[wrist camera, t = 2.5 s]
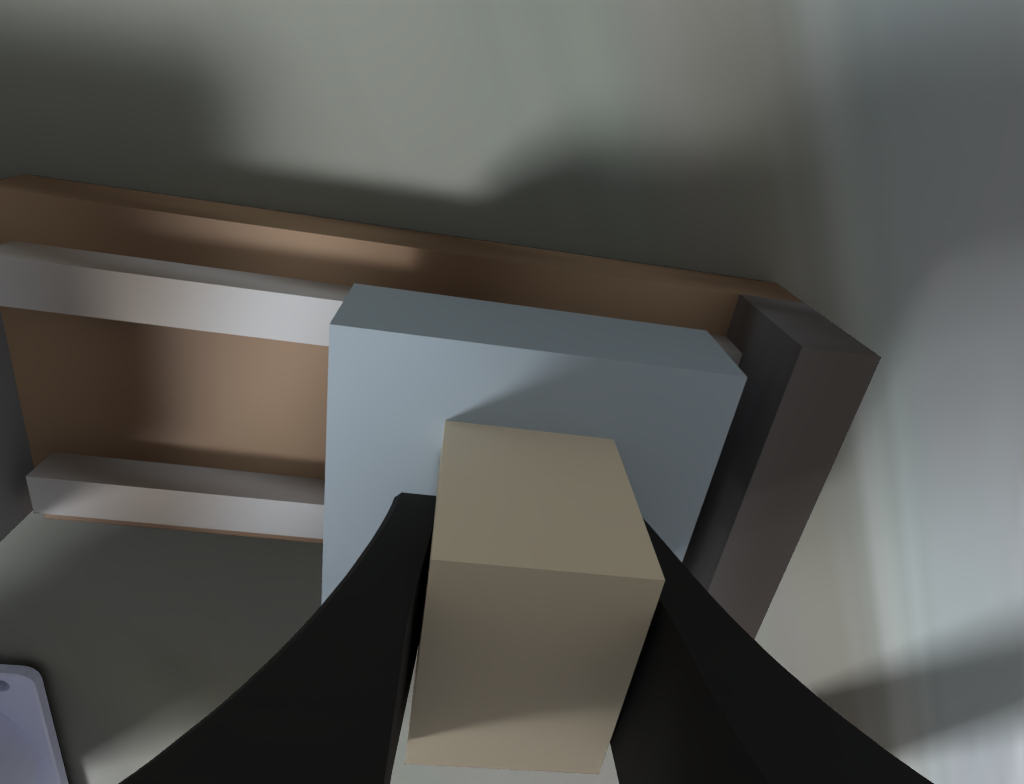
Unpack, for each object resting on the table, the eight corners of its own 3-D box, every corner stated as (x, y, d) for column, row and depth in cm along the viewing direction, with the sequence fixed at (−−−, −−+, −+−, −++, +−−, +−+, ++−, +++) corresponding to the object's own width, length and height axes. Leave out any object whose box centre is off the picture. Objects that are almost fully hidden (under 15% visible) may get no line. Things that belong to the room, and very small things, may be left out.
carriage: (341, 565, 15) (269, 816, 10) (354, 283, 12) (260, 436, 7) (625, 590, 16) (694, 835, 11) (706, 330, 13) (856, 500, 8)
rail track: (79, 483, 17) (-46, 610, 13) (23, 174, 13) (-169, 216, 9) (685, 541, 19) (740, 668, 15) (776, 282, 15) (881, 357, 11)
